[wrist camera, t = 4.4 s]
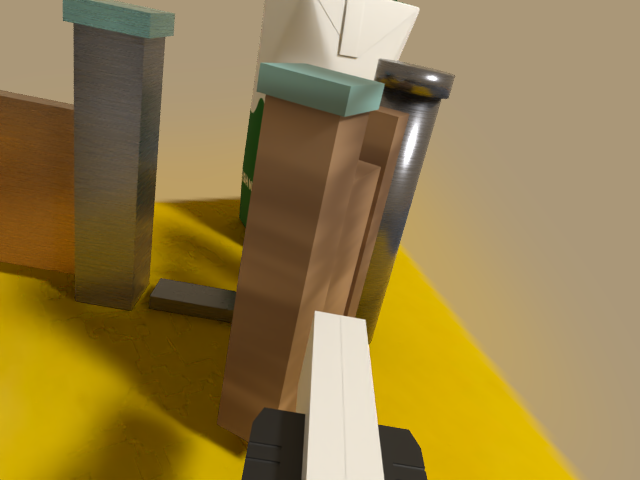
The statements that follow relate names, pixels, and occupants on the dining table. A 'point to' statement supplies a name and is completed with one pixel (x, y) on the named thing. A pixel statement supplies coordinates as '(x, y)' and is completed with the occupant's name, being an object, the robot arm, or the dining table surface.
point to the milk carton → (324, 49)
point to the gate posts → (149, 167)
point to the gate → (305, 226)
